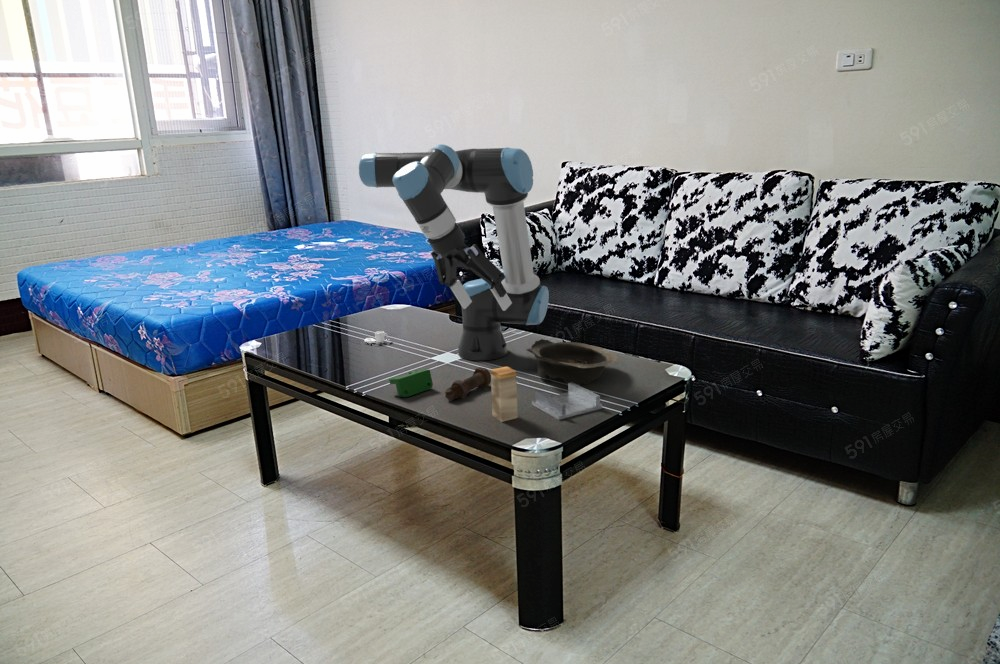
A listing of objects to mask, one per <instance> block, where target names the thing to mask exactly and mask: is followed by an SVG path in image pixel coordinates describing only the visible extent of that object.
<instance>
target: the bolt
mask: <svg viewBox="0 0 1000 664" xmlns="http://www.w3.org/2000/svg"><path fill="white" fill-rule="evenodd" d="M489 385H491V371H489V370H488V368H485V367H481V366H480V367H476V368H475V369H474V372H473V374H472V376H469V377H467V378H466V379H464V380H459V379H458V380H457V379H456V380H454V381H453V382H452V384H451V385H450V387H447V389H446V390H445V391H444V394H445V398H446V399H447V400H448V401H454V400H455V399H457V398H458V399H464V398H466V397H467V396H468V393H469V392H470V391H472V390H474V389H476V388H477V387H483V388H487V387H489Z"/></svg>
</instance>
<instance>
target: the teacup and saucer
mask: <svg viewBox="0 0 1000 664" xmlns="http://www.w3.org/2000/svg"><path fill="white" fill-rule="evenodd" d="M385 335H386V338H385ZM374 336H375V338H373V337H366V338H365V339H364V340H363V341H364V343H365V342H367V343H372V342H375V341H376V342H375V343H377V342H383V341H384V339H386V340H387V339H388V338H389V336H388V333H386V332H385V331H384V330H377V331H375V332H374ZM386 340H385V342H387V341H386ZM367 343H366V344H367Z"/></svg>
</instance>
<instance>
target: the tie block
mask: <svg viewBox="0 0 1000 664" xmlns="http://www.w3.org/2000/svg"><path fill="white" fill-rule="evenodd" d="M490 374H491V382H490V386H491V387H490V388H491V411H492V415H491V416H492V417H493V418H495V419H497V420H498V421H500V422H501V423H503V422H506V421H507V422H508V421H510V420H515V419H518V417H519V416H518V415H519V414H518V392H517V389H518V388H517V387H518V385H517V384H518V383H517V371H516V370H515V369H513V368H512V367H510V366H502V367H497V368H493V369H490Z"/></svg>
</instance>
